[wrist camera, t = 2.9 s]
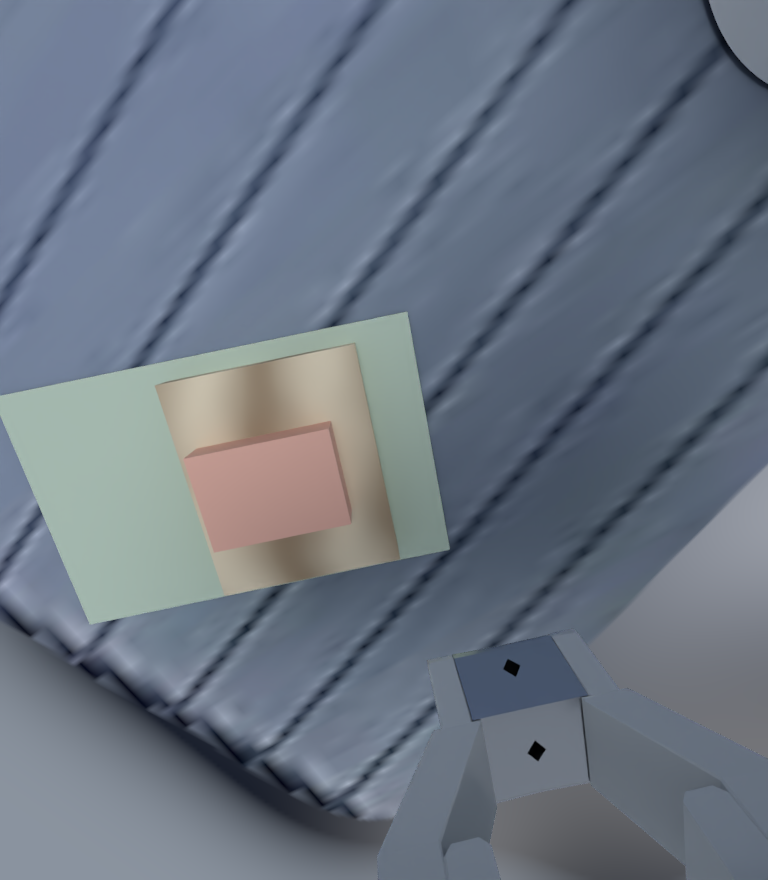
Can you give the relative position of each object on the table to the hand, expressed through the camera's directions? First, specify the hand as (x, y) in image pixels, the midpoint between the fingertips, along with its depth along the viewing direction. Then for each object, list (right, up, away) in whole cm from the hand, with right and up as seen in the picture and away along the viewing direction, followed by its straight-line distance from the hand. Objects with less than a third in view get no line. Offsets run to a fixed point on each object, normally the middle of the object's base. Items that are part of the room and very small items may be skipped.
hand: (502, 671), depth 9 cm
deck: (-8, +3, +17) cm, 19 cm away
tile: (-8, +3, +15) cm, 17 cm away
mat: (-11, +2, +17) cm, 20 cm away
